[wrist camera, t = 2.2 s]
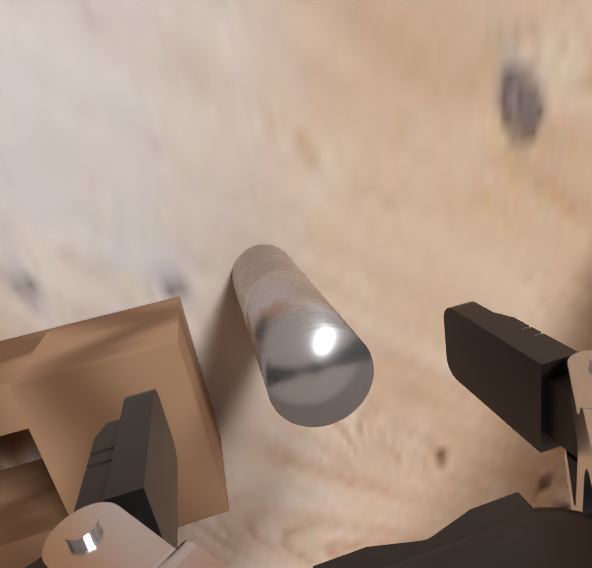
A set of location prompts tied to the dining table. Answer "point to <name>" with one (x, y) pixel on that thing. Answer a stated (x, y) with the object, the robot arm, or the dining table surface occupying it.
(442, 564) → the robot arm
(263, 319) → the pin
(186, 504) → the socket block
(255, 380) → the dining table surface
